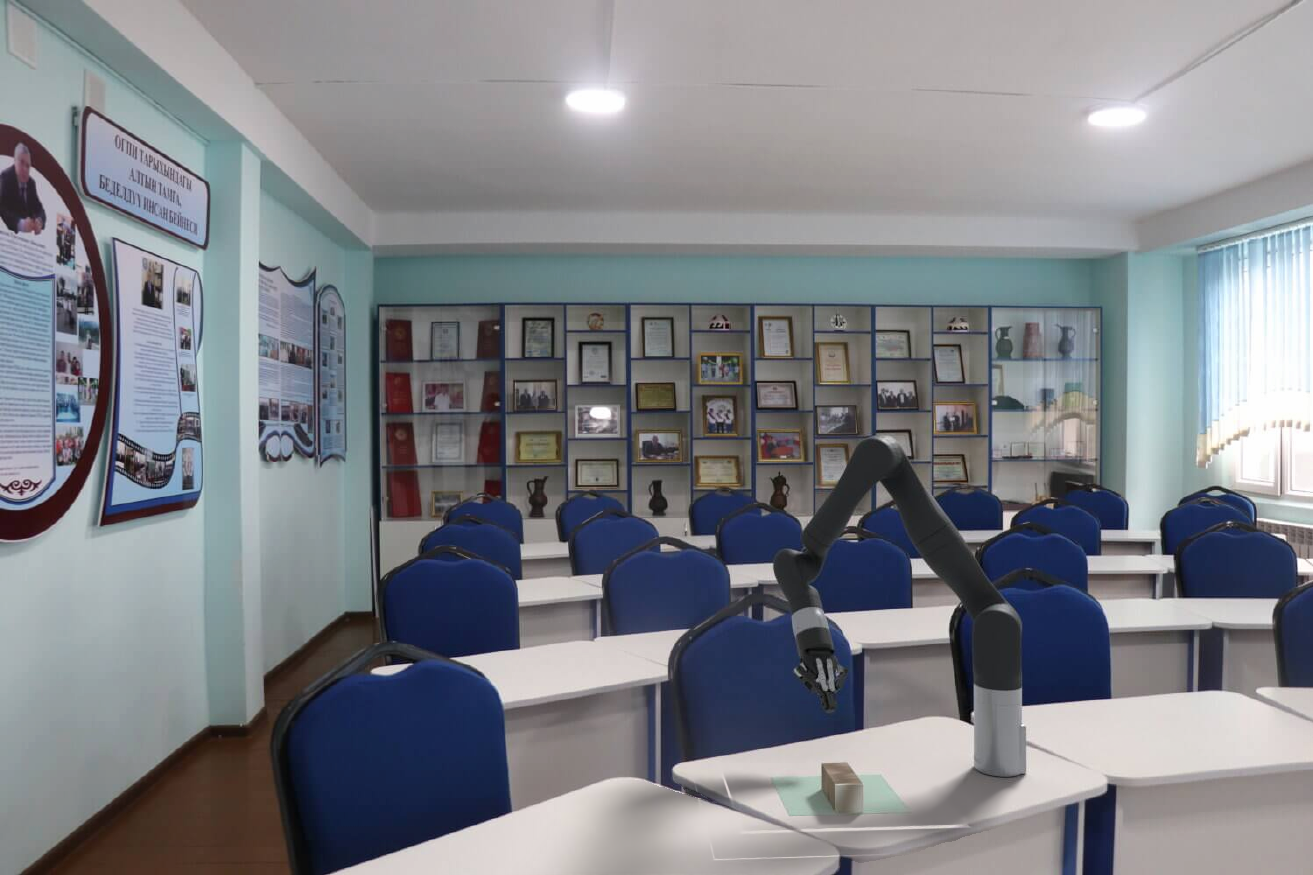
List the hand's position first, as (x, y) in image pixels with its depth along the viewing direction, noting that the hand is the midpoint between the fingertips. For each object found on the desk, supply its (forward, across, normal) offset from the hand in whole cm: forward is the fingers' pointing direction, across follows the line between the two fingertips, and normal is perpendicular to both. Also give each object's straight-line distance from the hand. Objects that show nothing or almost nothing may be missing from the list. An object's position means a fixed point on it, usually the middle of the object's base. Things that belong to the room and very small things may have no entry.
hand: (830, 711), depth 196 cm
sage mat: (+18, -5, -3) cm, 19 cm away
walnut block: (+14, -4, -3) cm, 15 cm away
